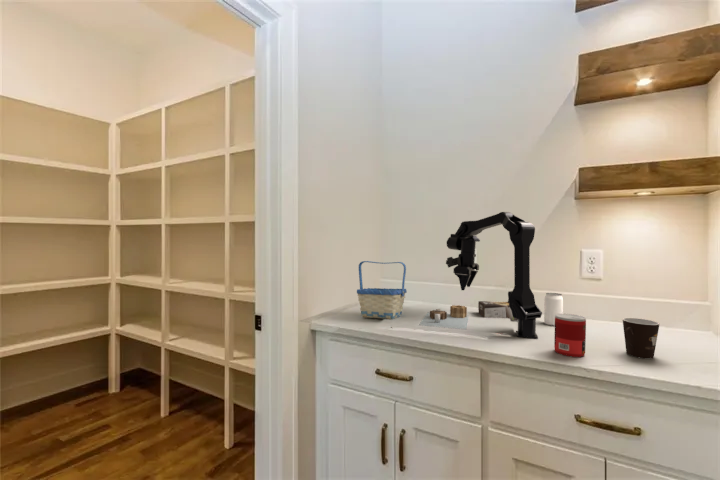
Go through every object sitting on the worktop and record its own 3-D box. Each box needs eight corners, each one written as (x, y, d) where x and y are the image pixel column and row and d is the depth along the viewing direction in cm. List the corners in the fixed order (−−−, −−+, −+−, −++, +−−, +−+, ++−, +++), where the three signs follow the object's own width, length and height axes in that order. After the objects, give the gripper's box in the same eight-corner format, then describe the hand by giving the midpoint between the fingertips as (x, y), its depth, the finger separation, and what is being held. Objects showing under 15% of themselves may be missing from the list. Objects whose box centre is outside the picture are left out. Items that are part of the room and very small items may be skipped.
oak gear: (466, 318, 145) (466, 308, 145) (449, 317, 147) (449, 307, 147) (466, 315, 151) (467, 305, 151) (450, 314, 153) (451, 304, 153)
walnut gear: (445, 320, 142) (445, 312, 142) (428, 318, 144) (428, 310, 144) (447, 316, 148) (447, 308, 148) (431, 315, 150) (431, 307, 150)
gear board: (466, 332, 128) (466, 321, 128) (418, 328, 134) (418, 316, 134) (468, 318, 151) (468, 308, 151) (427, 314, 157) (428, 305, 157)
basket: (410, 316, 153) (411, 261, 153) (396, 324, 139) (397, 263, 139) (367, 311, 163) (367, 259, 163) (349, 318, 149) (349, 261, 148)
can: (561, 327, 138) (561, 295, 138) (542, 324, 142) (543, 294, 142) (563, 323, 143) (564, 293, 143) (545, 321, 147) (546, 292, 147)
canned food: (589, 358, 103) (590, 320, 103) (559, 356, 104) (559, 318, 104) (579, 350, 110) (579, 314, 110) (550, 348, 112) (551, 312, 112)
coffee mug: (642, 350, 111) (642, 317, 111) (666, 360, 102) (667, 324, 102) (605, 350, 110) (605, 317, 110) (626, 360, 102) (627, 324, 102)
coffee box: (524, 305, 147) (484, 304, 147) (524, 321, 147) (484, 320, 148) (515, 301, 156) (478, 300, 157) (515, 316, 156) (477, 315, 157)
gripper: (454, 248, 163) (452, 283, 164) (442, 251, 147) (439, 289, 148) (480, 250, 157) (478, 286, 158) (469, 253, 141) (467, 293, 142)
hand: (465, 288), depth 152 cm, fingers open, 9 cm apart
